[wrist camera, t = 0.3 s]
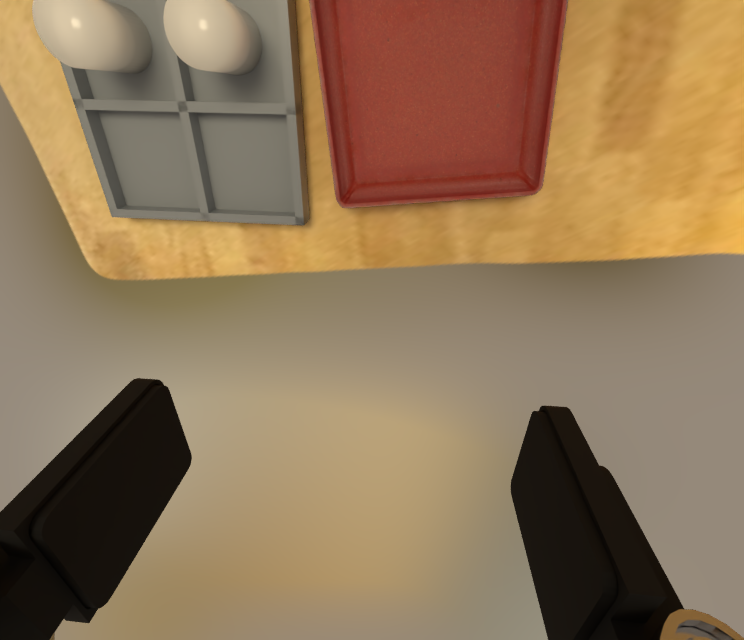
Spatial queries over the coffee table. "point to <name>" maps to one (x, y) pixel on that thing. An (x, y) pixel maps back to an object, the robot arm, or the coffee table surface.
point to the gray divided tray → (200, 129)
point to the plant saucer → (437, 96)
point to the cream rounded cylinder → (213, 35)
